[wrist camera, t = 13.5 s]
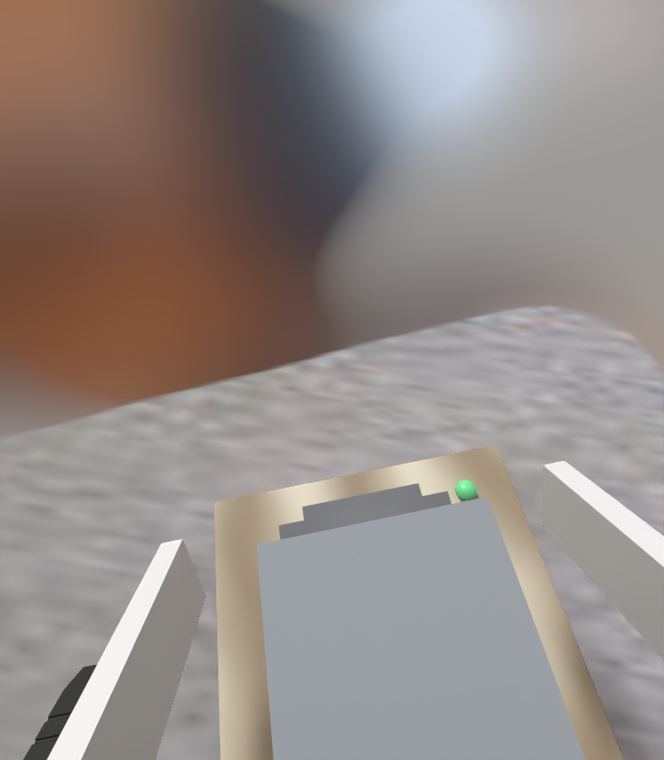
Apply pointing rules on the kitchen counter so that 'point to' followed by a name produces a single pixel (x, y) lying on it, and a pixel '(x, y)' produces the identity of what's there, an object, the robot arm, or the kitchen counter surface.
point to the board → (270, 509)
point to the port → (371, 508)
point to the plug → (407, 644)
